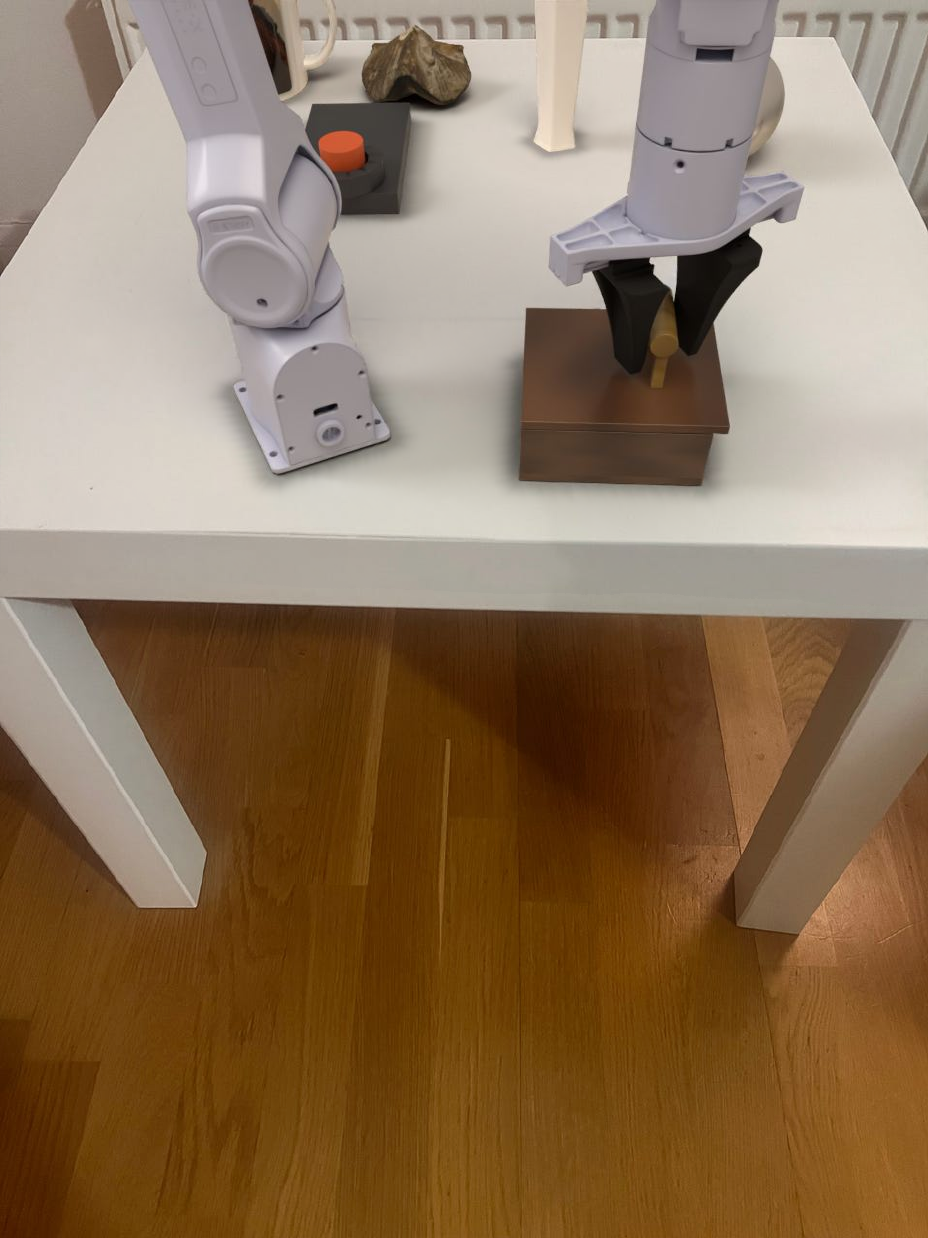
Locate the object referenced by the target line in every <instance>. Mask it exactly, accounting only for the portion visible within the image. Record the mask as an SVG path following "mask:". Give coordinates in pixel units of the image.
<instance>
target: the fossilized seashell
mask: <svg viewBox="0 0 928 1238" xmlns="http://www.w3.org/2000/svg"><path fill="white" fill-rule="evenodd" d="M464 48H465V47H464V45H462V44H454V43H447V42H443V41H438V40H435V39H433V38H432V36H431V35H429V34H428V33H427V32H426V30H424V29H422V28H420V26H418V25H417V24H413V25H411V26H410V27H409V28H407V29H406V30H404V31H402V32H401V33H400V34H398V35H397V36H395V37H394V38H392V39H391V40H390V41H388V42H373V43H372V44H371V50H370V53H369V55H368V57H367V58H366V59H365V61H364V63H363V66H362V70H361V82H362V85H363V87H364V90H365V93H366V94H367V95H368V97H369V98H370V99H372V101H374V102H376V103H385V102H396V101H399V100H402V99H405V98H408V97H409V96H410V97H411V96H412V95H415V94H417V95H418V96H419V97H421V98H422V99H425V100H427V101H429V102H430V103H432V104H434V105H437V106H444V105H450V104H451V103H453V102H454V101H456V100H458V99H459V98H460V97H461V95H462V94H463V93H464V92H465V91H466V90H467V89H468V88H469V85H470V84H471V81H472V71H471V69H470V66H469V64H468V60H467V57H466V54H464V53H465V52H464V50H465V49H464Z"/></svg>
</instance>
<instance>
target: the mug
mask: <svg viewBox="0 0 928 1238" xmlns="http://www.w3.org/2000/svg"><path fill="white" fill-rule="evenodd" d="M322 1H323V4H324V6H325V8H326V11H327V14H328V21H329V22H328V23H329V33H328V36H327V39H326V41H325V43H324V44H323V47H322V48H321V49H319V51H316V52H315V53H313V54H308V55H306V54H305V48H304V47H305V46H304V41H303V34H302V28H301V21H300V14H299V7H298V1H297V0H248V3H249V6H250V9H251V12H252V15H253V18H254V21H255V24H256V28H257V31H258V34H259V37H260V40H261V43H262V46H263V49H264V52H265V55H266V58H267V62H268V65H269V68H270V71H271V74H272V77H273V80H274V83H275V86H276V89H277V93H278V96H279V99H280V100H281V102H283V101H286V100H289V99H291V98H293V97H295V96H296V95H298V94H300V93H301V92H302V91H303V90H304V89H305V88H306V86H307V84H308V81H309V76H308V70H313V69H316V68H319V67H320V66H322V65H324V63H325V62H327V60H328V59H329V58H330V56H331V54H332V52H333V50H334V47H335V43H336V40H337V34H338V14H337V13H338V12H337V8H336V4H335V1H334V0H322Z"/></svg>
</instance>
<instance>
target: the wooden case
mask: <svg viewBox="0 0 928 1238" xmlns="http://www.w3.org/2000/svg"><path fill="white" fill-rule="evenodd" d="M714 435H715V434H701V433H661V432H621V431H582V430H542V429H521V428H520V436H519V439H520V440H519V467H518V480H519V481H529V482H535V481H537V482H568V483H569V482H570V483H599V484H601V483H603V484H630V485H631V484H635V485H638V484H639V485H665V486H667V485H670V486H702V485H703V480H704V476H705V471H706V468H707V464H708V460H709V457H710V452H711V448H712V443H713V440H714Z"/></svg>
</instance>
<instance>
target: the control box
mask: <svg viewBox="0 0 928 1238" xmlns="http://www.w3.org/2000/svg"><path fill="white" fill-rule="evenodd" d="M411 127H412V114H411V103H410V102H352V103H350V102H349V103H348V102H346V103H341V102H340V103H338V102H337V103H333V102H332V103H312V104H311V108H310V111H309V114H308V118H307V121H306V125H305V131H306V134H307V137H308V139H309V141H310V143H311V145H312V147H313V149H314V150H315V151H316V153H317V154H318V155H319V157H320V151H319V140H320V139H321V138H322V137H323V136H325V135H326V134H329V133H332V132H337V131H350V132H355V133H357V134H359V135H360V136H361V137H362V138H363V142H364V152H365V164H364V165H363V166H362V167H360V168H358V169H354V170H351V171H347V172H332V173H333V174H334V176H335V178H336V180H337V182H338V185H339V188H340V192H341V199H342V207H341V213H340V216H355V215H356V216H357V215H359V216H360V215H361V216H365V215H366V216H367V215H371V216H372V215H375V216H377V215H400V213H401V212H400V211H401V205H402V204H401V203H402V198H403V197H402V196H403V188H404V183H405V182H404V180H405V174H406V173H405V172H406V166H407V165H406V164H407V158H408V152H409V151H408V150H409V142H410V135H411Z"/></svg>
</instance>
